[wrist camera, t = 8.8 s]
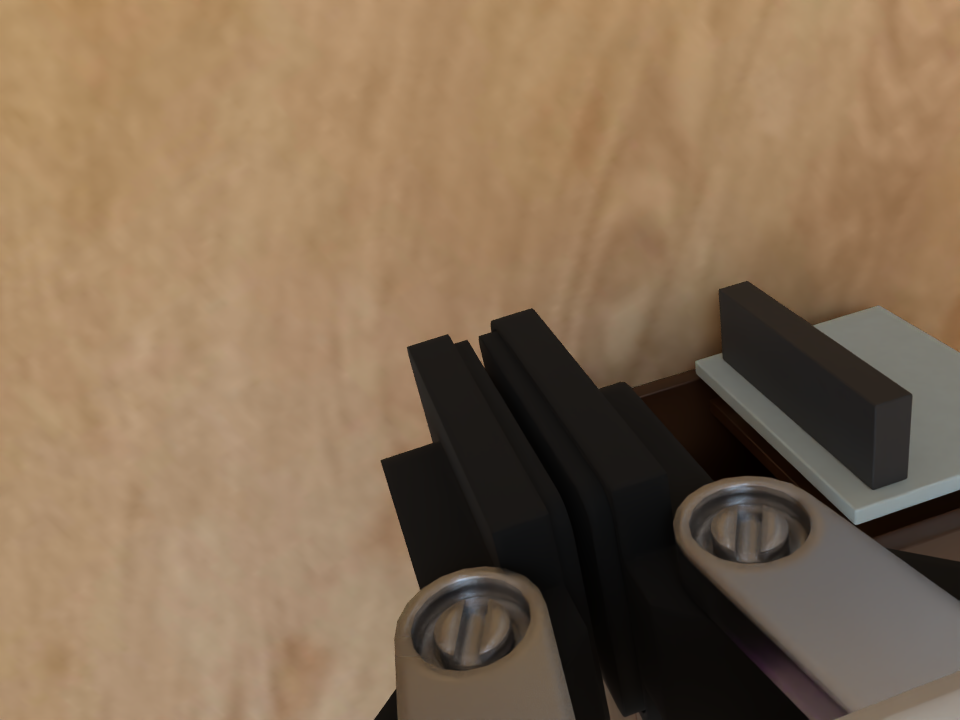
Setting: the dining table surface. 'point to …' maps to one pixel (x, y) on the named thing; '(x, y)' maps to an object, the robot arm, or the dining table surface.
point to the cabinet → (780, 471)
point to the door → (843, 399)
